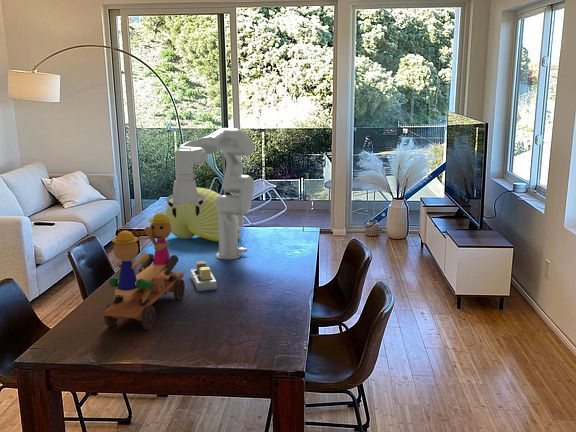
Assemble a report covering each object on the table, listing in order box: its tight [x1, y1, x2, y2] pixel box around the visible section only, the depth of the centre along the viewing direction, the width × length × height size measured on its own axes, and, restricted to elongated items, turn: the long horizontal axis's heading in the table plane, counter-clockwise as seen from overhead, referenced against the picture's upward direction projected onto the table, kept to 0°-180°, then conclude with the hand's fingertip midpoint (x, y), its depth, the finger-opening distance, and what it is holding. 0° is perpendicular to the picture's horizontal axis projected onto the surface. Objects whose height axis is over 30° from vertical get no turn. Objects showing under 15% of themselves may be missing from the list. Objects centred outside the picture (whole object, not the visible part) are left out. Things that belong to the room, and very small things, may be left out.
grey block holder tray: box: [190, 268, 218, 292], centre depth 252 cm, size 8×19×4 cm, turn 18°
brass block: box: [199, 266, 211, 281], centre depth 247 cm, size 4×4×8 cm
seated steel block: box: [195, 260, 207, 275], centre depth 256 cm, size 4×4×8 cm
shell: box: [165, 187, 241, 243], centre depth 322 cm, size 44×31×30 cm
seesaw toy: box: [102, 212, 186, 331], centre depth 217 cm, size 45×16×36 cm, turn 169°
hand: (186, 215), depth 254 cm, fingers open, 9 cm apart
